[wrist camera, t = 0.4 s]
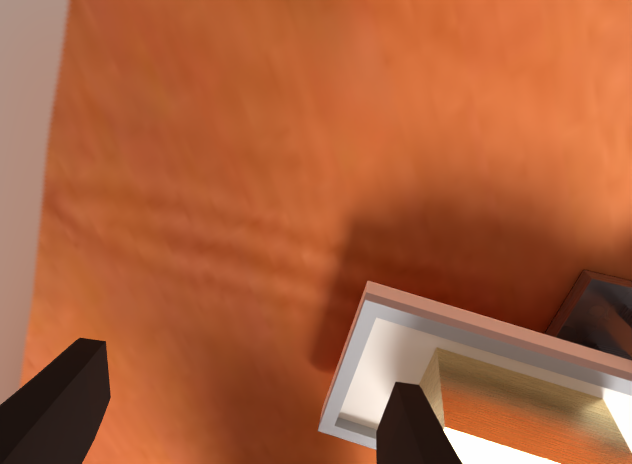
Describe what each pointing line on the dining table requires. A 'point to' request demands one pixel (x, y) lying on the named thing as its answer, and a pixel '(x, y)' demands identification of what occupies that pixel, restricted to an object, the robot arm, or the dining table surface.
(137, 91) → the dining table surface
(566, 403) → the brass bar
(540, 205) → the dining table surface
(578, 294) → the beam stand
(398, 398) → the robot arm
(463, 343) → the beam
